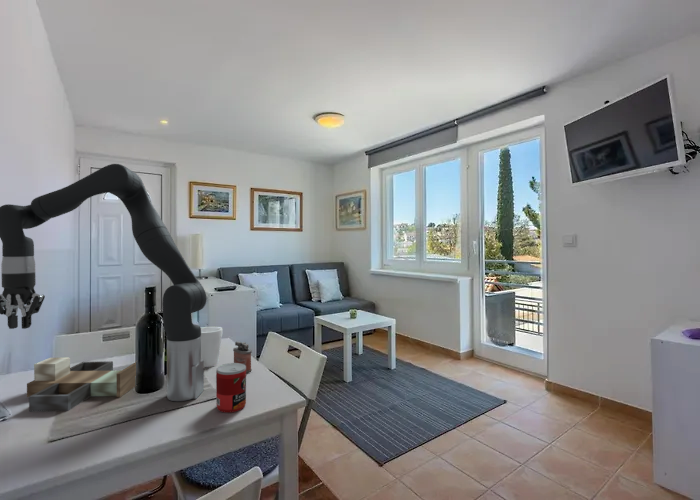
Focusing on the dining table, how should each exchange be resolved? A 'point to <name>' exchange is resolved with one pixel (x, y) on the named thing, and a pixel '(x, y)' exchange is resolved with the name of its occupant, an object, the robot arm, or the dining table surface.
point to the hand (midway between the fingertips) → (19, 327)
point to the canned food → (231, 387)
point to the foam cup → (210, 345)
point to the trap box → (80, 386)
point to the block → (51, 369)
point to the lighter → (243, 355)
